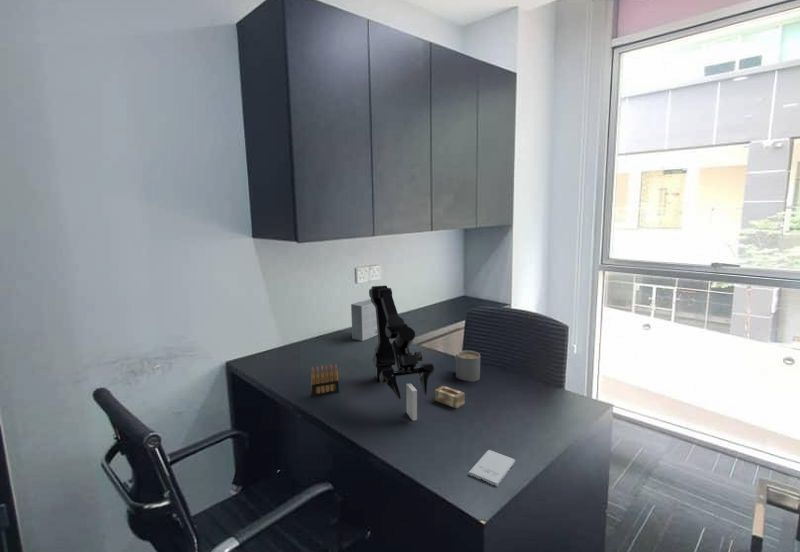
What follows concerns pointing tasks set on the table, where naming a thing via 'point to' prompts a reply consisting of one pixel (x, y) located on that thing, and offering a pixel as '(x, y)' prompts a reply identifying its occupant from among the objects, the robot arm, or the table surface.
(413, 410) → the cover plate
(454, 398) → the oak box
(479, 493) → the table surface
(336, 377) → the ammunition clip
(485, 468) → the external hard drive
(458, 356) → the coffee mug
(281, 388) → the table surface
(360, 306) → the hard drive box
